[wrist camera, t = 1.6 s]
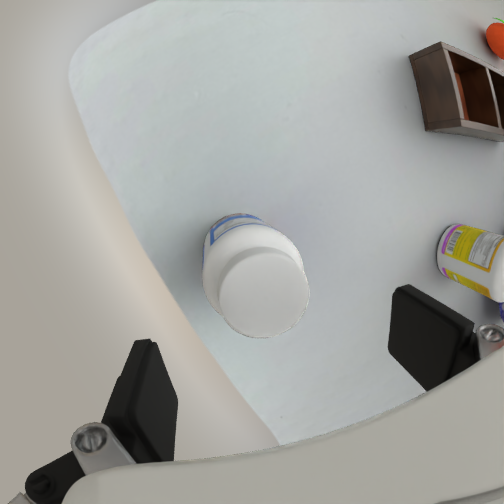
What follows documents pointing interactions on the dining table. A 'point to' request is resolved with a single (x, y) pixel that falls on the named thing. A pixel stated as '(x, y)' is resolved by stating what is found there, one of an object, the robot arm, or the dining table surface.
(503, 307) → the ornament
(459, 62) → the caddy
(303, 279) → the pill bottle
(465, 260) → the supplement bottle
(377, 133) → the dining table surface
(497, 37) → the clementine
